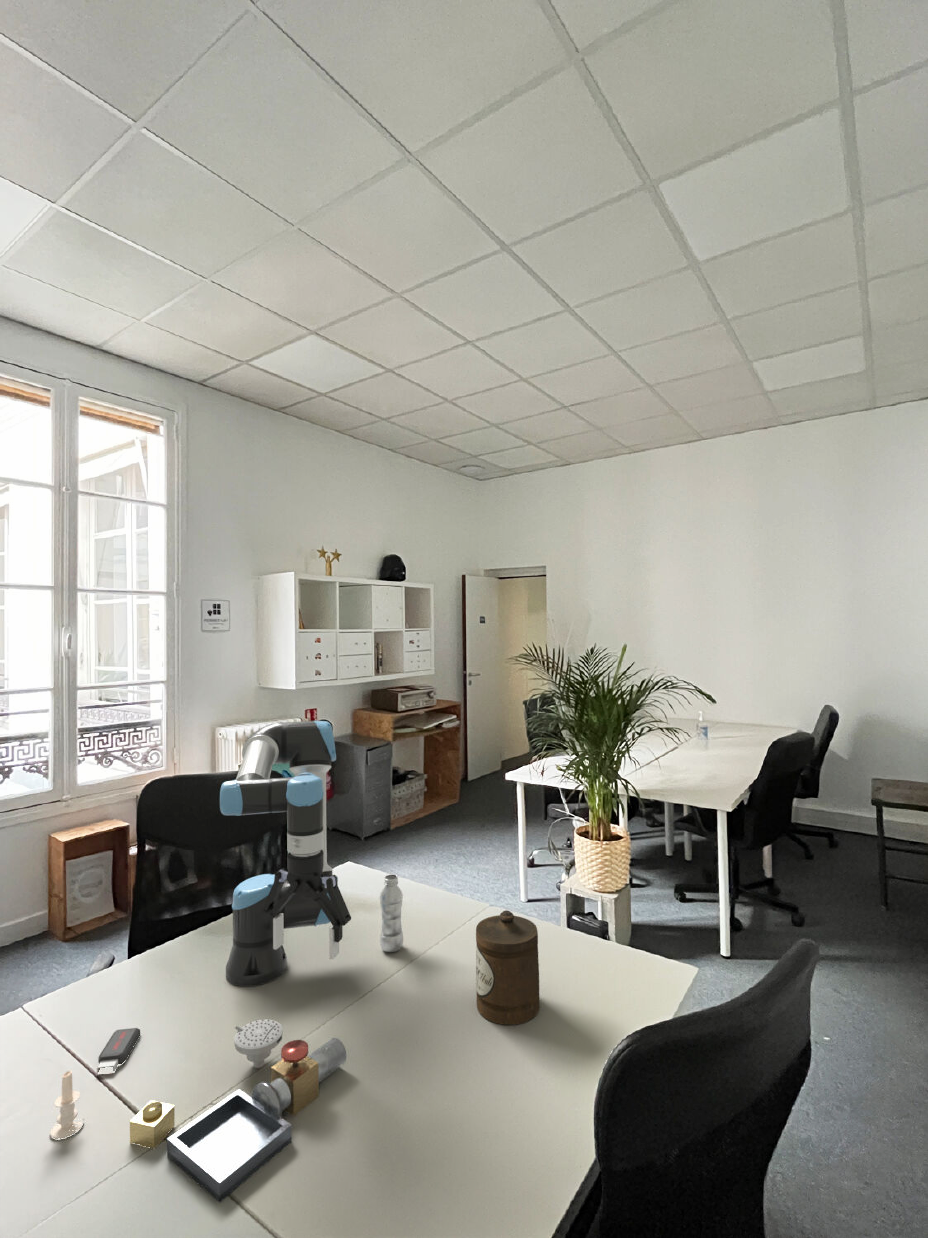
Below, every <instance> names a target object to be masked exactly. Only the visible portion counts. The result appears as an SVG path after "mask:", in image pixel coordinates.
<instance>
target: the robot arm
mask: <svg viewBox="0 0 928 1238" xmlns="http://www.w3.org/2000/svg"><path fill="white" fill-rule="evenodd" d="M335 745H336V743H335V737H334V732H333V727H332V725H331V723H330V722H329V721H326V720H307V721H306V720H305V721H287V722H286V721H285V722H284V721H283V722H275V723H270V724H268V725H265V726H263V727H261V728H259V729H258V730H256V731H255V732H253V733H252V734H251V735H250V736H249V737H247V739H246V740H245V741H244V744H243V747H242V751H241V757H242V761H241V764H240V766H239V770H238V773H237V775H236V778H235V779H232V780H228V781H224V782H222V784H221V787H220V790H219V810H220V813H221V814H222V815H223V816H237V817H238V816H247V815H248V816H249V815H260V814H271V813H272V814H275V813H285V812H286V815H287V816H286V819H287V820H286V821H287V829H286V836H287V837H286V838H287V839H286V841H287V842H286V843H287V844H286V845H287V849H286V851H287V852H288V853H287V855H286V862H287V863H286V864H287V867H286V868H287V869H286V868H284V867H282V868H281V869H279V870H278V871H276V872H275V873H274V874H272V873H264V874H259V875H256V876H252V877H249V878H247V879H245V880H244V881H242V882H240V883H239V884H238V885H236V887H235V888H234V891H233V894H232V904H231V909H232V946H231V949H230V952H229V956H228V959H227V961H226V962H227V963H226V965H225V978H226V980H227V982H229V983H230V984H232V985H234V986H239V987H254V986H260V985H264V984H267V983H270V982H272V981H274V980H275V979H278V978H279V977H280V976H281V975H283V974H284V973H285V972H286V969H287V966H288V965H287V963H288V962H287V961H288V959H287V953H286V951H285V948H284V946H283V945H284V944H285V943H284V935H285V933H284V931H285V930H286V929H295V928H305V927H317V926H321V925H327V924H331V925H330V926H329V930H328V931H329V932H328V935H329V941H328V943H329V960H334V959H335V958H336V957H337V956H338V955H339V954H340V941H341V940H342V939H343V934H344V933H343V927H344V926H346V925H347V924H348V923H349V922H350V921H351V920H352V915H351V913H350V911H349V909H348V906H347V904H346V902H345V899H344V898H343V895H342V893H341V889H340V888H339V883H338V882H339V877H338V876H337V875H335V874H333V868H332V867H331V866H330V865H329V863H328V862H327V861H328V860H327V858H328V857H327V856H328V853H327V851H328V850H327V845H328V844H327V843H328V842H327V774H328V772H329V770H331V769H332V762H335V761H336V760H337V753H336V746H335ZM279 764H283V765H285V764H289V771H290V772H291V773H292V774H293V775H294V776H290V777H276V778H275V777H273V778H272V777H271V773H272V768H273V765H279Z"/></svg>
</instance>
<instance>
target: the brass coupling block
mask: <svg viewBox="0 0 928 1238" xmlns="http://www.w3.org/2000/svg"><path fill="white" fill-rule="evenodd" d="M174 1126H175V1105H174V1104H171V1103H165V1102H161V1101H157V1100H149V1102H147V1103H146V1105H144V1107H143V1108H141V1110H140V1111H138V1113H137V1114H135V1116H134V1117H132V1119H130V1121H129V1144H130V1143H135V1144H140V1145H142V1146H146V1147H150V1148H155V1149H157V1147H158V1146H159V1145H160V1144H161V1143H162V1142H163V1141H164V1139H165V1138H166V1137H167V1136H166V1134H168V1132H169V1131H170V1130H171V1129H172V1128H173V1127H174ZM175 1127H176V1126H175ZM175 1127H174V1128H175ZM174 1128H173V1129H174ZM173 1129H172V1130H173ZM168 1135H169V1134H168ZM158 1144H159V1145H158ZM157 1145H158V1146H157ZM142 1146H141V1147H142ZM156 1146H157V1147H156ZM146 1147H145V1148H146ZM150 1148H149V1149H150Z"/></svg>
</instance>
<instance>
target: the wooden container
mask: <svg viewBox="0 0 928 1238" xmlns="http://www.w3.org/2000/svg"><path fill="white" fill-rule="evenodd" d="M538 933H539V932H538V927H537V925H536V924H535V923H534V922H533V921H532V920H530V919H527V918H525V917H522V916H517V915H515V914H513V912H511V911H510V910H503V911H502V912H500V914H499V915H493V916H489V917H486V918H484V919H482V920H480V921H479V922H478V923H477V925H476V928H475V941H476V943H475V944H476V951H475V952H476V953H475V954H476V958H475V960H476V961H475V964H476V965H475V970H476V971H475V981H476V982H475V985H476V988H475V989H476V1008H477V1010H478V1012H479V1014H480V1015H481V1016H482V1017H483V1018H484V1019H486V1020H488V1021H489V1022H492V1023H496V1024H500V1025H506V1026H507V1025H509V1026H510V1025H511V1026H512V1025H520V1024H524V1023H527V1022H529V1021H531V1020H533V1019H534V1018H535V1017H536V1016H537V1015H538V1014H539V1010H540V1008H541V1007H540V1006H541V1005H540V967H539V966H540V965H539V964H540V963H539V962H540V961H539V946H538V945H539V934H538Z"/></svg>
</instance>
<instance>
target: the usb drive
mask: <svg viewBox="0 0 928 1238" xmlns="http://www.w3.org/2000/svg"><path fill="white" fill-rule="evenodd" d="M139 1036H140V1037H141V1029H140V1028H138V1027H133V1028H123V1029H121V1028H120V1029H116V1030H115V1031H114V1032H113V1033H112V1035H111V1036H110V1038H109V1040H108V1041H107V1042H106V1045H105V1046H104V1048H103V1050H102V1051H101V1053H100V1054H99V1055H98V1057H97V1059H98V1063H99V1065H98V1066H97V1067H96V1074H97V1073H98V1072H99V1070H100V1068H105V1067H113V1071H115V1069H116V1068H117V1065H118V1064H122V1063H123V1062H124V1061H125V1060H126V1059H127V1057H128V1055H129V1054H130V1055H131V1053H132V1052H131V1050H132V1049H133V1050H134V1048H133V1046H134V1045H135V1046H136V1044H137V1043H136V1041H137V1040H139V1039H140V1037H139ZM138 1038H139V1039H138ZM137 1042H138V1041H137ZM135 1043H136V1044H135ZM135 1046H134V1047H135ZM133 1050H132V1051H133ZM130 1052H131V1053H130ZM130 1055H129V1056H130ZM128 1058H129V1057H128ZM127 1060H128V1059H127ZM117 1069H118V1068H117Z"/></svg>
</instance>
